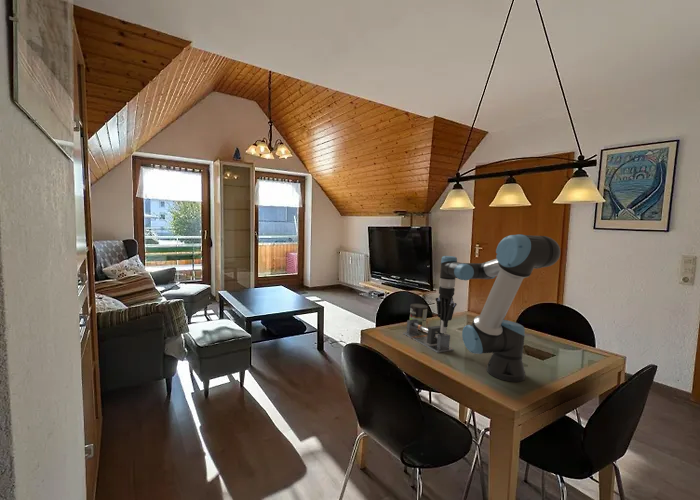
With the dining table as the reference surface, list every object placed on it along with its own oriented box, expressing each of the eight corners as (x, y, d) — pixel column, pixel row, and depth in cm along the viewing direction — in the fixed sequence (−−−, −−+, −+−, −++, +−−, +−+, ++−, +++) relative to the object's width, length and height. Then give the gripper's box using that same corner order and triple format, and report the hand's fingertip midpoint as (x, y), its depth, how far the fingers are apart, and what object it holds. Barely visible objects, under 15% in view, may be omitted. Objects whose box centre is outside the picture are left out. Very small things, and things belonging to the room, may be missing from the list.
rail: (453, 350, 171) (454, 335, 171) (437, 352, 167) (438, 337, 166) (416, 331, 198) (417, 318, 197) (402, 333, 194) (403, 320, 193)
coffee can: (413, 331, 199) (415, 307, 198) (406, 325, 209) (407, 303, 208) (429, 330, 202) (430, 307, 201) (420, 325, 212) (422, 303, 211)
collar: (443, 342, 177) (444, 327, 176) (430, 344, 173) (431, 328, 172) (439, 340, 179) (440, 325, 178) (426, 342, 176) (428, 326, 175)
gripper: (462, 289, 164) (458, 336, 166) (443, 284, 176) (440, 327, 178) (450, 289, 161) (446, 337, 163) (432, 284, 173) (429, 329, 175)
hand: (443, 332), depth 171 cm, fingers closed
